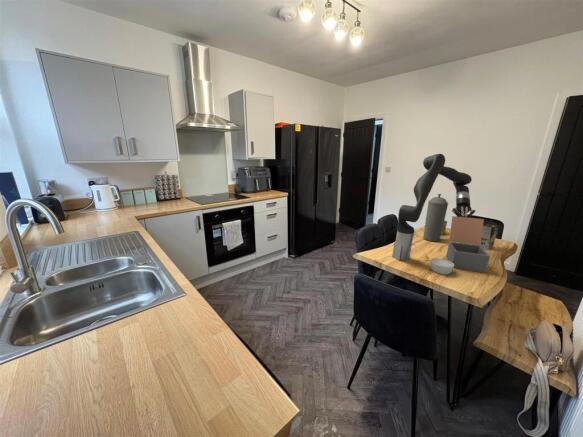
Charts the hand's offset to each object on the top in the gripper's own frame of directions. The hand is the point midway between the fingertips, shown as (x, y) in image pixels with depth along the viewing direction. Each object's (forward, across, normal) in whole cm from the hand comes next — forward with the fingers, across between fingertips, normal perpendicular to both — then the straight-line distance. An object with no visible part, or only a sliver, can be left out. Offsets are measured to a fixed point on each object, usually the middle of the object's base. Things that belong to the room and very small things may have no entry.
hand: (464, 222), depth 150 cm
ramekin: (+38, -15, -7) cm, 41 cm away
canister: (-1, -12, +31) cm, 33 cm away
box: (+27, 0, +3) cm, 27 cm away
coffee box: (+1, +21, +29) cm, 36 cm away
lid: (+7, 0, -3) cm, 8 cm away
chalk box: (-13, -6, +44) cm, 46 cm away
